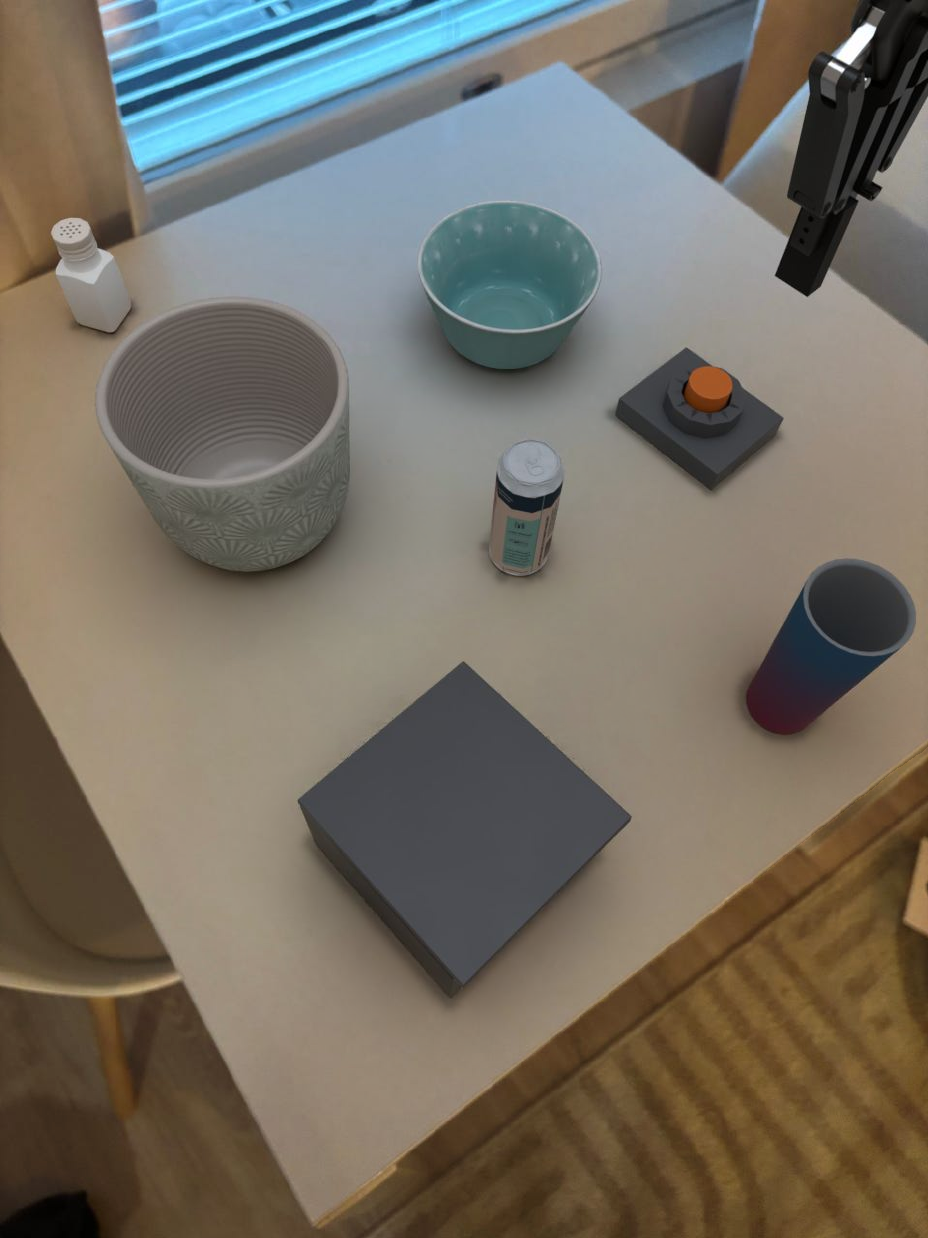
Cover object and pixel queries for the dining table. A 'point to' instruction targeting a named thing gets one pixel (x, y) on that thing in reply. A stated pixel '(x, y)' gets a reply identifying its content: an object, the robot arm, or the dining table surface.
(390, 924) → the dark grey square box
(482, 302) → the bowl
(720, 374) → the button
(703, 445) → the control block
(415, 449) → the dining table surface
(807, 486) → the dining table surface
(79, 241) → the pepper shaker
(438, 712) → the dark grey square slab
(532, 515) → the beer can
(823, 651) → the cup
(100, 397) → the planter
